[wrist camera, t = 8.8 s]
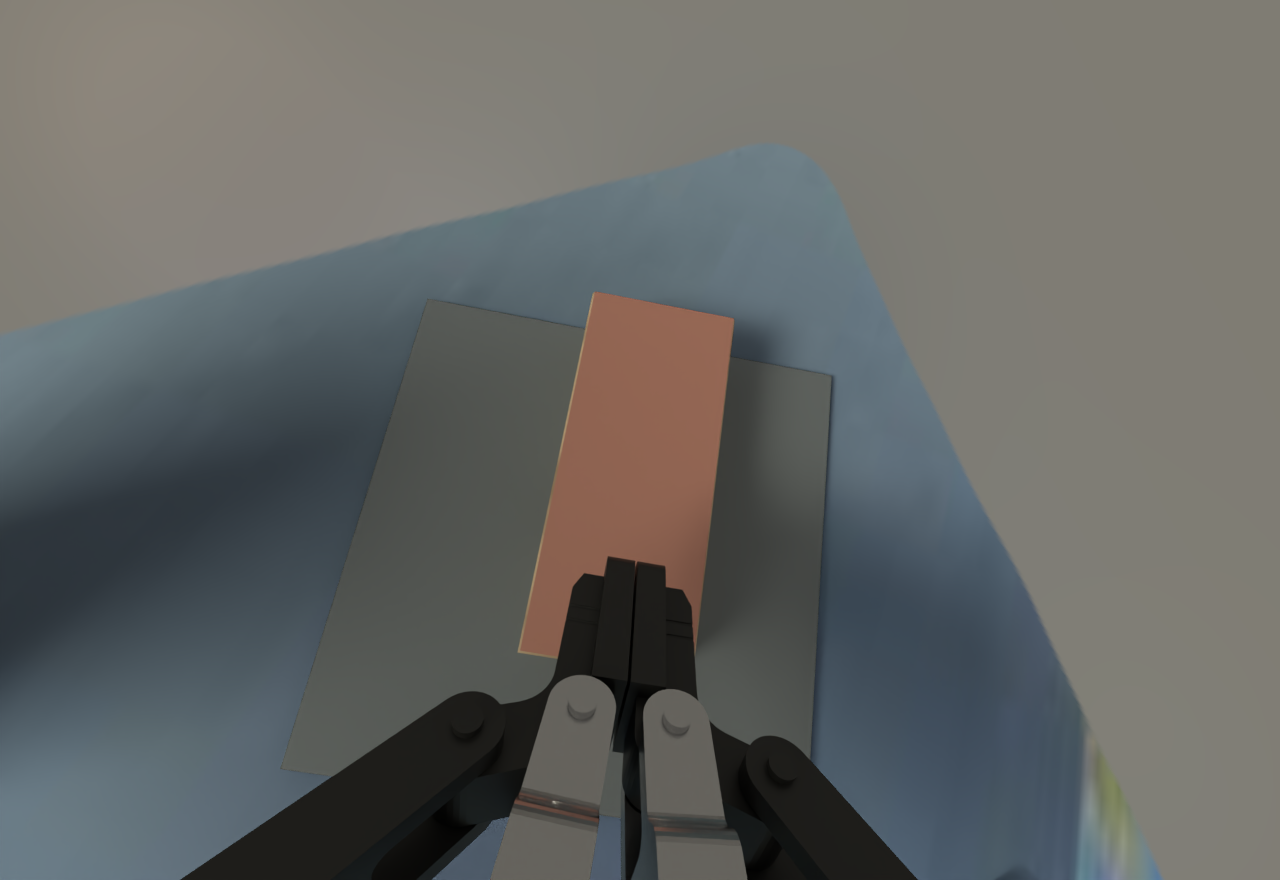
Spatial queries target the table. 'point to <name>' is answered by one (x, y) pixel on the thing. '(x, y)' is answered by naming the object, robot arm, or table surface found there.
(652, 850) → the robot arm
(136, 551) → the table surface
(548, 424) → the slate mat
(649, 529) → the oak block
